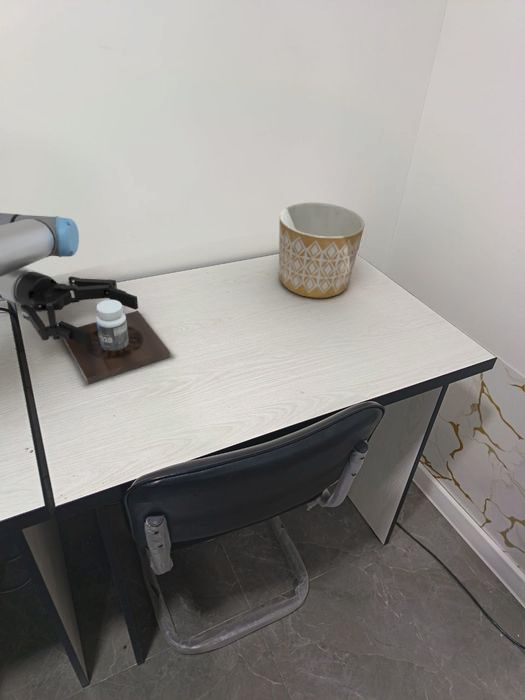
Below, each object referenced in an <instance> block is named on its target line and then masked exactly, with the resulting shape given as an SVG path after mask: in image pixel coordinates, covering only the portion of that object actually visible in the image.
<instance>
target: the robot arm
mask: <svg viewBox="0 0 525 700" xmlns="http://www.w3.org/2000/svg"><path fill="white" fill-rule="evenodd" d="M77 225H78V224H77V223H76V222H75V221H74V220H73V219H72V218H69V217H63V216H61V217H60V216H58V215H55V216H48V215H32V214H31V215H30V214H29V215H27V214H19V213H6V212H0V299H3V300H6V301H7V302H10V303H13V304H16V305H18V306H20V310H21V314H22V318H23V319H25V320H27V321H29V322H30V324H31V325H32V327H33V329H34V330H35V332H37V334H38V336H39V337H40V340H42V341H45V342H46V341H48V340H49V339H50V337H51V338H52V340H54V341H58V340H60V338H61V339H63V338H64V339H66V340H70V339H72V340H75V341H77V342H80V343H83V344H85V345H88V346H89V345H91V344H92V343H91V338H90V333H89V331H86V330H84V329H81V328H78V327H79V326H75V325H73V324H71V323H68V322H65V321H63V320H60V321H57V315H56V312H57V311H62V310H63V309H64V308H65V307H66V306H68V305H71V304H78V303H79V302H80V301H89V300H99V299H101V300H102V299H109V300H117V301H119V302H120V303H121V304H122V306H124V307H127V308H129V309H132V310H134V311H137V310H138V309H139V303H138V302H139V301H138V296H136V295H134V294H130V293H127V292H126V291H125V290H122V289H119V288H118V285H117V281H116V280H115V279H101V278H99V279H98V278H82V277H81V278H80V277H76V276H69V277H68V282H66V283H59V282H57V281H56V280H54V278H52V277H51V276H49V275H47V274H44V273H41V272H38V271H36V270H34V269H30V268H28V267H27V266H29V265H31V264H35V263H37V262H39V261H42V260H44V259H45V258H48V257H58V258H62V257H64V258H65V257H66V258H67V257H73V256H75V254H76V253H77V252H78V249H79V244H80V234H79V229H78V226H77ZM71 291H72V292H73V296H74V297H73V296H72V292H71ZM40 312H46V313H47V318H48V319H47V320H48V325H46V324H45V323H44V321H43V320H42V319H41V317H40V316H39V314H38V313H40Z"/></svg>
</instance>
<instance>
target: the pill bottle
mask: <svg viewBox="0 0 525 700" xmlns="http://www.w3.org/2000/svg"><path fill="white" fill-rule="evenodd" d="M125 314H126V313H125V312H124V310H123V305H122V304H121V303H120V302H119V301H117V300H110V299H104V300H101V301H99V302H98V303H97V304H96V317H95V322H96V323H97V328H98V335H99V340H100V347H101V348H103V349H105V350H109V351H116V350H120V349H123V348H125V347H126V346H128V344H129V338H128V330H127V322H126V316H125Z"/></svg>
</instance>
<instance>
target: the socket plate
mask: <svg viewBox="0 0 525 700" xmlns="http://www.w3.org/2000/svg"><path fill="white" fill-rule="evenodd" d="M124 314H125V316H126V322H127V330H128V338H129V344H128V346H126V347H125V348H123V349H120V350H116V351H109V350H105V349H103V348H101V347H100V340H99V335H98V328H97V323H96V321H94V322H92V323H87V324H84V325H80V326H77V327H78V328H81V329H84V330H86V331H89V333H90V338H91V343H92V344H91V345H89V346H88V345H85V344H83V343H80V342H77V341H75V340H72V339H70V340H66V339H64V338H62V339H63V342H64V343H65V345H66V347H67V348H68V351H69V353H70V355H71V356H72V358H73V360H74V362H75V364H76V366H77V367H78V369H79V371H80V373H81V375H82V376H83V378H84V380H85V382H86V384H87V385H91V384H95V383H97V382H99V381H102V380H106V379H109V378H111V377H114V376H117V375H118V376H119V375H121V374H124V373H127V372H129V371H133V370H136V369H138V368H139V369H140V368H142V367H146V366H148V365H151V364H154V363H157V362H161V361H163V360H167V359H169V358H171V351H170V349H168V347H167V346H166V345H165V344H164V342H163V341H162V340H161V338H160V337H159V335H158V334H157V333H156V332H155V331H154V329H153V328H152V327H151V325H150V324H149V323H148V322H147V320H146V319H145V317H144V316H143V315H142V314H141V313H140V312H139V311H138V310H134V311H131V312H128V313H124Z"/></svg>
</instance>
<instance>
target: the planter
mask: <svg viewBox="0 0 525 700" xmlns="http://www.w3.org/2000/svg"><path fill="white" fill-rule="evenodd" d="M278 223H279V225H278V226H279V230H278V231H279V233H278V234H279V235H278V236H279V237H278V277H279V280H280V282H281V283H282V285H283V286H284V287H285V288H286V289H288V290H289V291H291V292H292V293H294V294H296V295H299V296H303V297H305V298H311V299H312V298H314V299H323V298H324V299H325V298H332V297H334V296H337V295H339V294H341V293H342V292H344V291H345V290H346V289H347V287H348V286H349V284H350V280H351V277H352V273H353V269H354V265H355V262H356V258H357V255H358V251H359V247H360V244H361V241H362V237H363V233H364V229H365V226H366V225H365V224H366V223H365V221H364V219H363V218H362V216H360V215H359V214H358V213H356V212H355V211H353V210H351V209H348V208H346V207H343V206H340V205H337V204H331V203H324V202H303V203H295V204H293V205H292V204H291V205H289V206H287V207H285V208H284V209H282V210H281V212H280V213H279V222H278Z"/></svg>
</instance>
